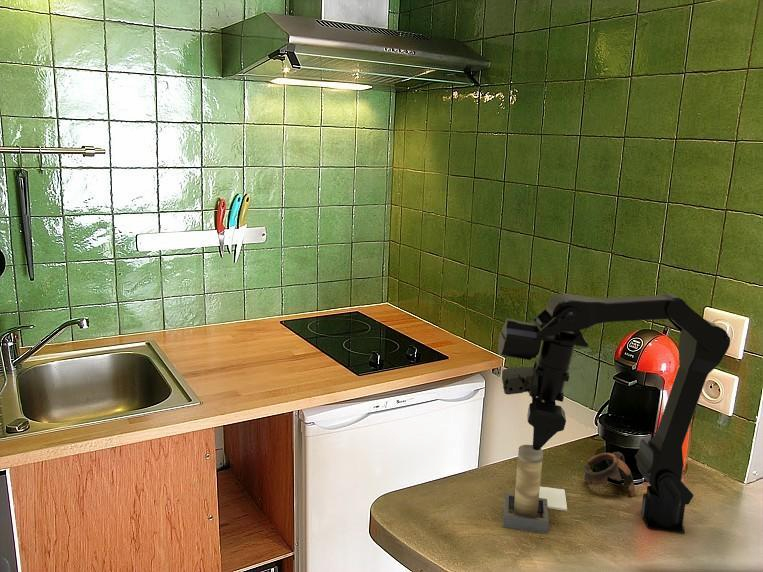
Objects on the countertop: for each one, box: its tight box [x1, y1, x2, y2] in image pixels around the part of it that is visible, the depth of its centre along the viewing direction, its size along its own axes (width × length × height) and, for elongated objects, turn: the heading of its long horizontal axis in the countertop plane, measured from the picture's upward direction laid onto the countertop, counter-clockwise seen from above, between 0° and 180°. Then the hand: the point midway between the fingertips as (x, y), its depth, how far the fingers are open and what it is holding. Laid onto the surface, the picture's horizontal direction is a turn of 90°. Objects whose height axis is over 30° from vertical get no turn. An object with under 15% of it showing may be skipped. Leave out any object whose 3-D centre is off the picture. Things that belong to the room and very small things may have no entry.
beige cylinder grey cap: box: [512, 444, 544, 517], centre depth 117 cm, size 4×4×14 cm
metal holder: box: [502, 493, 550, 535], centre depth 118 cm, size 8×8×2 cm
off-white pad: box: [539, 485, 568, 512], centre depth 126 cm, size 8×8×1 cm
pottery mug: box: [583, 451, 636, 498], centre depth 131 cm, size 12×10×8 cm
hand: (534, 436), depth 118 cm, fingers open, 9 cm apart
